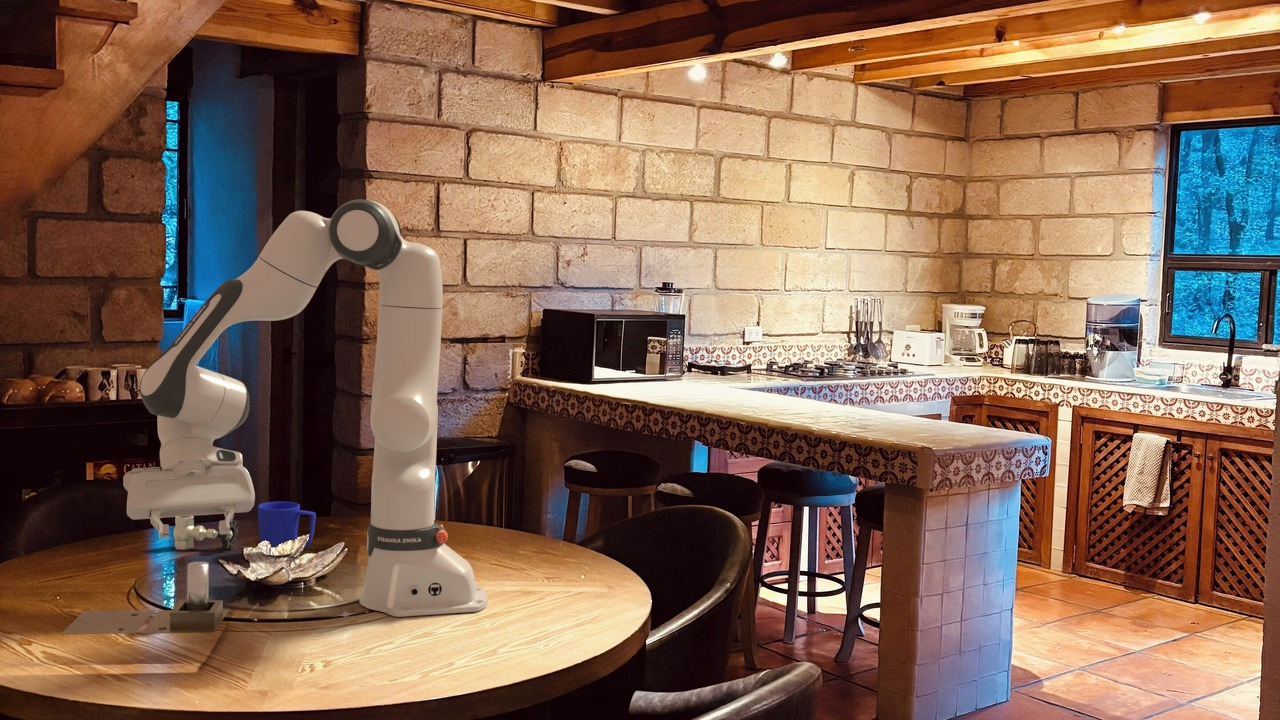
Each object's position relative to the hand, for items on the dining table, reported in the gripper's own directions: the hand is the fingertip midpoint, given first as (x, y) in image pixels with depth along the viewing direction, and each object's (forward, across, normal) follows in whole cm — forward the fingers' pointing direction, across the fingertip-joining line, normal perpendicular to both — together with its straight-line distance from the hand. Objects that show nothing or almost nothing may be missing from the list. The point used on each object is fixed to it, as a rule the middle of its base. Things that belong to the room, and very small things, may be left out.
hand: (194, 534), depth 195 cm
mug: (-17, +22, +37) cm, 46 cm away
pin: (+13, 0, +5) cm, 14 cm away
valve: (-24, +7, +44) cm, 51 cm away
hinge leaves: (+12, -8, +8) cm, 16 cm away
